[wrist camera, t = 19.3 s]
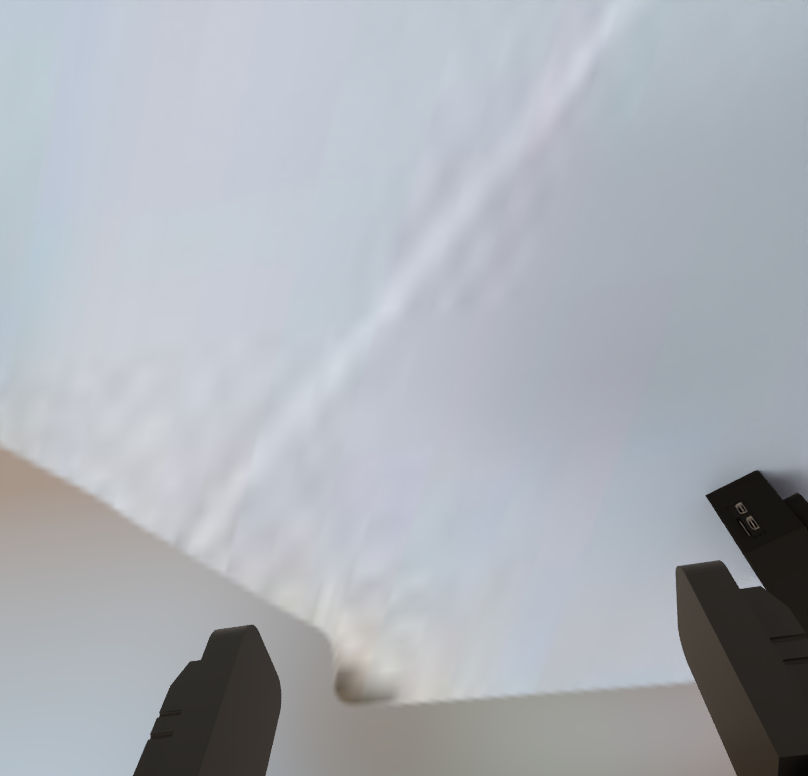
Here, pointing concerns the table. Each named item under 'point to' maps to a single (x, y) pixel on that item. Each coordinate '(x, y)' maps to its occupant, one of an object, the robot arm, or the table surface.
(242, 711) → the robot arm
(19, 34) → the table surface
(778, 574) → the digital camera
